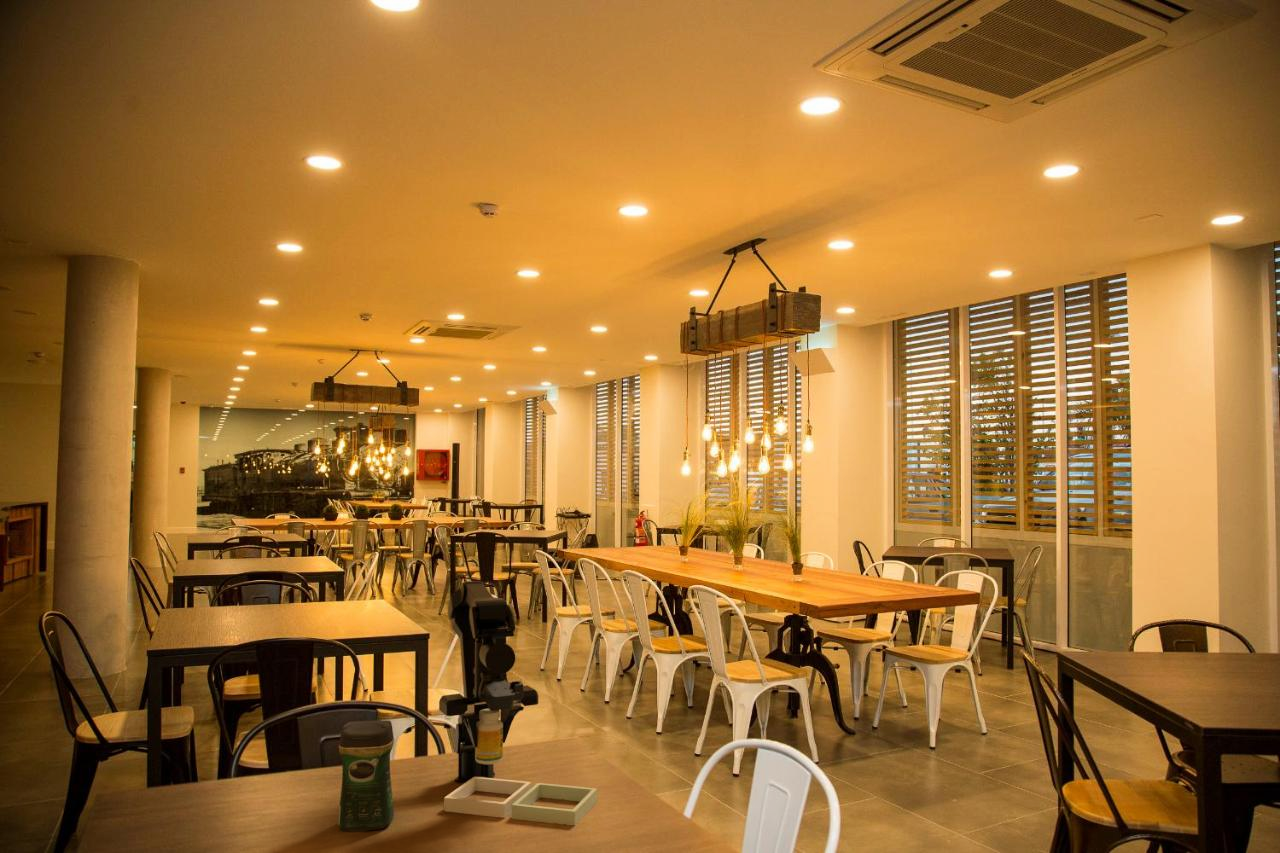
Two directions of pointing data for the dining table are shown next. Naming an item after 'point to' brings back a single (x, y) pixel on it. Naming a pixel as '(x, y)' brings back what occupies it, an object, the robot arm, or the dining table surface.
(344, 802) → the coffee jar
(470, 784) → the white bin
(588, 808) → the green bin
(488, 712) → the supplement bottle
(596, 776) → the dining table surface
